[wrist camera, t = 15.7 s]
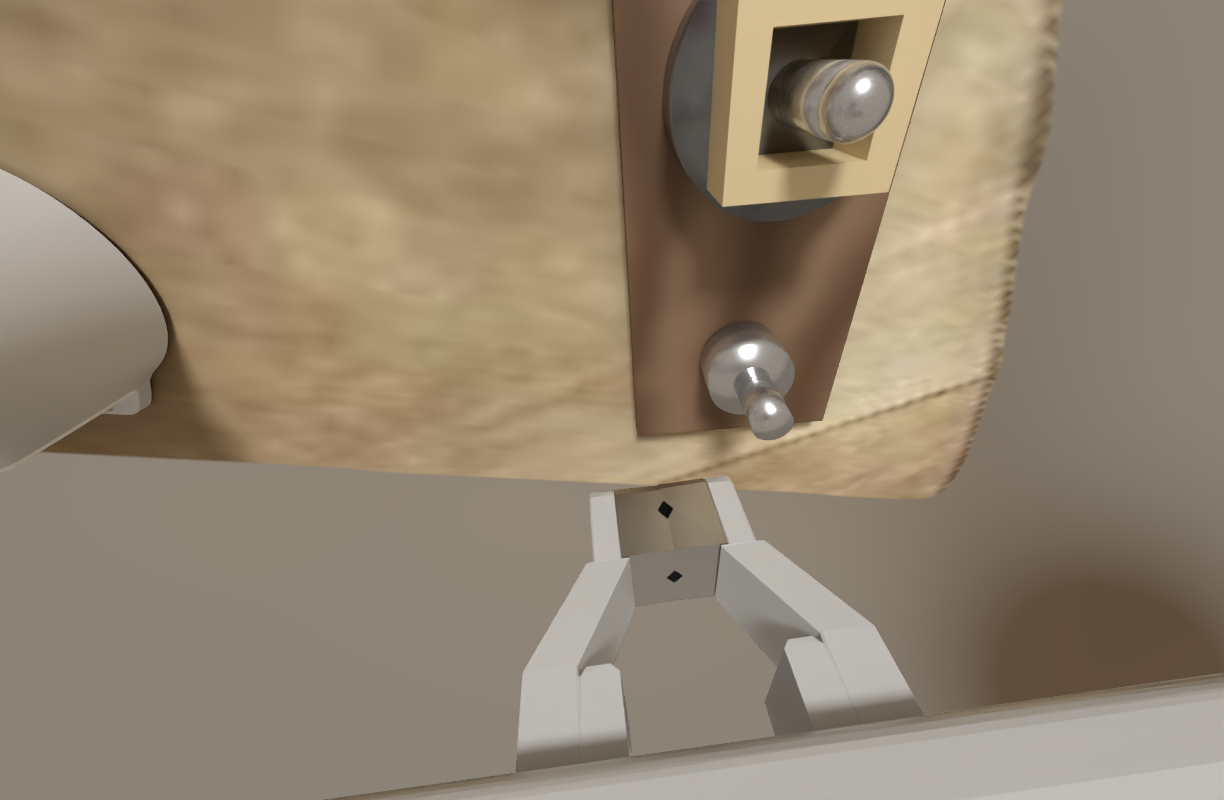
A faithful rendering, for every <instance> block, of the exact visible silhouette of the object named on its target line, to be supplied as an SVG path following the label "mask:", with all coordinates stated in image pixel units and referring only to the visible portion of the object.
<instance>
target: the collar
mask: <svg viewBox="0 0 1224 800" xmlns="http://www.w3.org/2000/svg"><path fill="white" fill-rule="evenodd" d="M944 2H945V0H717V14H716V32H715V50H714V68H713V86H712V104H711V122H710V140H709V158H708V176H707V190H708V191H709V192H710V193H711V195H712V196H713V197H714V198H715V199H716V200H717V201H718V202H719V204H720V205H721V206H722V207H727V206H738V205H749V204H761V203H772V202H783V201H794V200H805V199H817V198H828V197H839V196H850V195H862V194H873V193H884V192H889V188H890V185H891V182H892V178H893V175H894V171H895V168H896V165H897V161H898V158H899V154H900V151H901V148H902V144H903V141H904V138H905V134H906V131H907V127H908V124H909V121H910V117H911V114H912V110H913V107H914V104H915V100H916V97H917V93H918V90H919V87H920V83H921V80H922V77H923V73H924V70H925V66H926V63H927V60H928V56H929V53H930V49H931V46H932V43H933V39H934V36H935V32H936V29H937V26H938V22H939V19H940V15H941V12H942V9H943V5H944ZM853 21H859V23H858V28H857V33H856V38H855V43H854V47H853V52H852V57H851V60H873V61H876V62H879V63H880V64H882V65H884V66H885V67H886V68H887V69H888V71H889V72H890V74H891V76H892V78H893V81H894V99H893V103H892V107H891V109H890V111H889V113H888V115H887V117H886V118H885V120H884V121H883V123H882V124H881V125H880V126H879V127H878V128H877V129H876V130H875V131H874V132H873V133H872V134H870V135H869V136H867V137H866V138H864V139H862V140H860V141H857V142H854V143H849V144H838V143H833V148H830V149H819V150H808V151H797V152H786V153H775V154H764V155H758V153H759V145H760V136H761V128H762V119H763V111H764V102H765V94H766V85H767V77H768V68H769V60H770V52H771V43H772V35H773V29H780V28H790V27H801V26H811V25H822V24H832V23H843V22H853Z"/></svg>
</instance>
